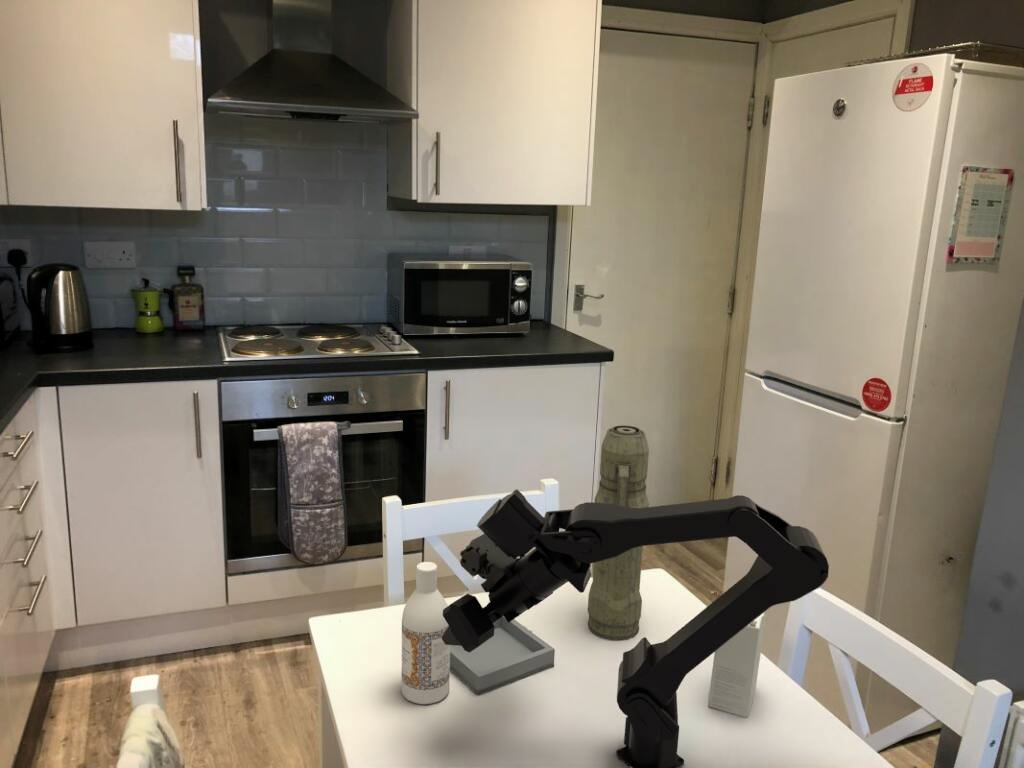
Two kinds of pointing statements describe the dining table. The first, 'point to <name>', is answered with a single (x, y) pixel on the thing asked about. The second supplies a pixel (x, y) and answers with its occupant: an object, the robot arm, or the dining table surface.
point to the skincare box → (737, 670)
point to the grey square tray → (502, 658)
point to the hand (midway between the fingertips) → (464, 626)
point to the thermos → (619, 577)
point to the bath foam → (425, 641)
